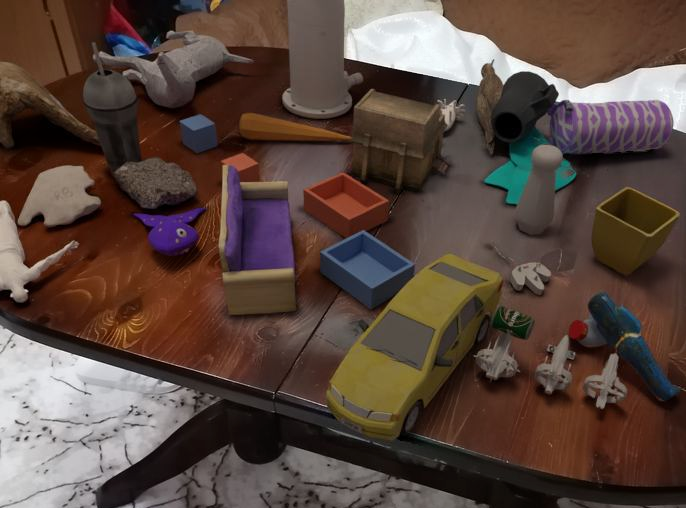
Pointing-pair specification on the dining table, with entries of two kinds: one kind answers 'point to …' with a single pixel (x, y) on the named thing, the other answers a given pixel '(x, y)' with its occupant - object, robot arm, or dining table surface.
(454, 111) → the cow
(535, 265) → the game controller
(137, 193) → the stone
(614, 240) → the flower pot
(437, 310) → the toy car
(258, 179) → the red block
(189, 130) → the blue block
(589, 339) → the red capped bottle
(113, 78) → the beverage cup
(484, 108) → the bird model
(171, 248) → the toy
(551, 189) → the salt shaker
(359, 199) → the red bin
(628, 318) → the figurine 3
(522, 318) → the beer can
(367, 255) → the blue bin
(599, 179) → the dining table surface
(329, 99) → the robot arm
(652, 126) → the pencil case
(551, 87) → the mug
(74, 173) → the decorative object
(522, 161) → the cloth
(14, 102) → the rock
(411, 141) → the wooden crate
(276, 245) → the toy sofa
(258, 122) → the carrot
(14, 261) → the figurine
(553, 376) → the toy vehicles
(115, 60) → the statue
